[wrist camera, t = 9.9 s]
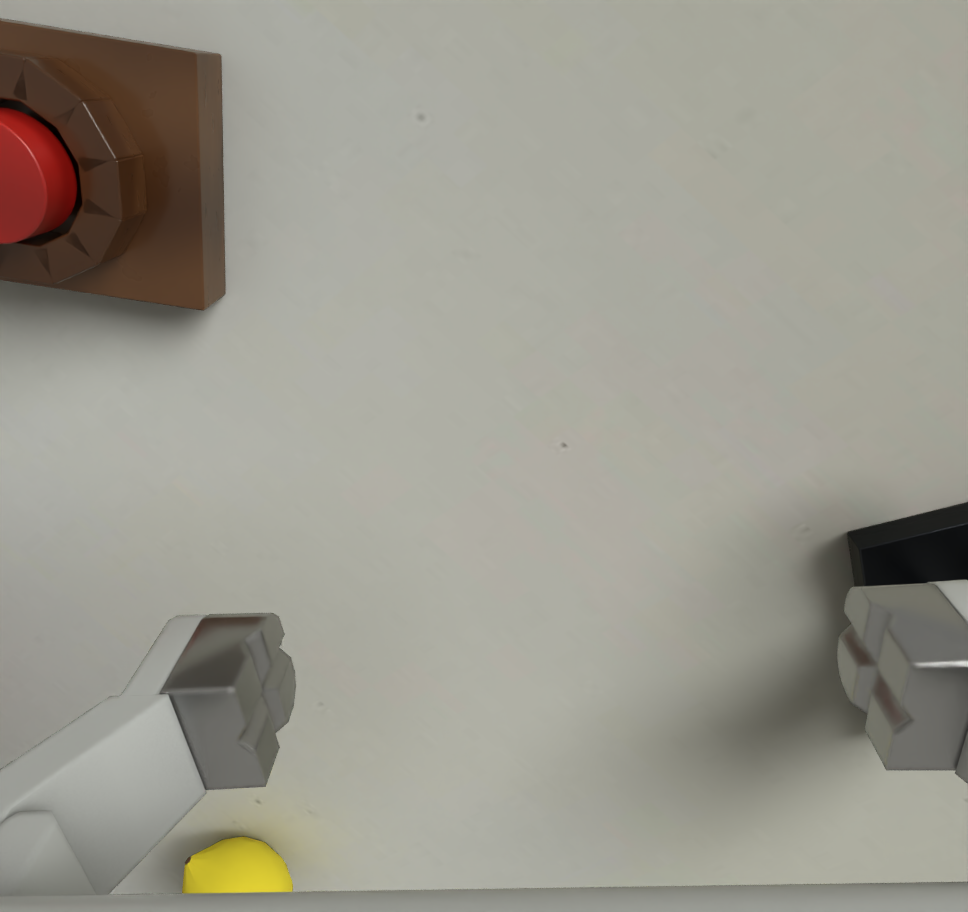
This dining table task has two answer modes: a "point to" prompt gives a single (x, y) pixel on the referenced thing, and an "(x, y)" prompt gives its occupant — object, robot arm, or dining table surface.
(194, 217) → the button block
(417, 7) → the dining table surface
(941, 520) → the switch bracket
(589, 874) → the dining table surface
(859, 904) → the robot arm
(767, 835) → the dining table surface
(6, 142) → the push button
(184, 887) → the lemon
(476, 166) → the dining table surface
